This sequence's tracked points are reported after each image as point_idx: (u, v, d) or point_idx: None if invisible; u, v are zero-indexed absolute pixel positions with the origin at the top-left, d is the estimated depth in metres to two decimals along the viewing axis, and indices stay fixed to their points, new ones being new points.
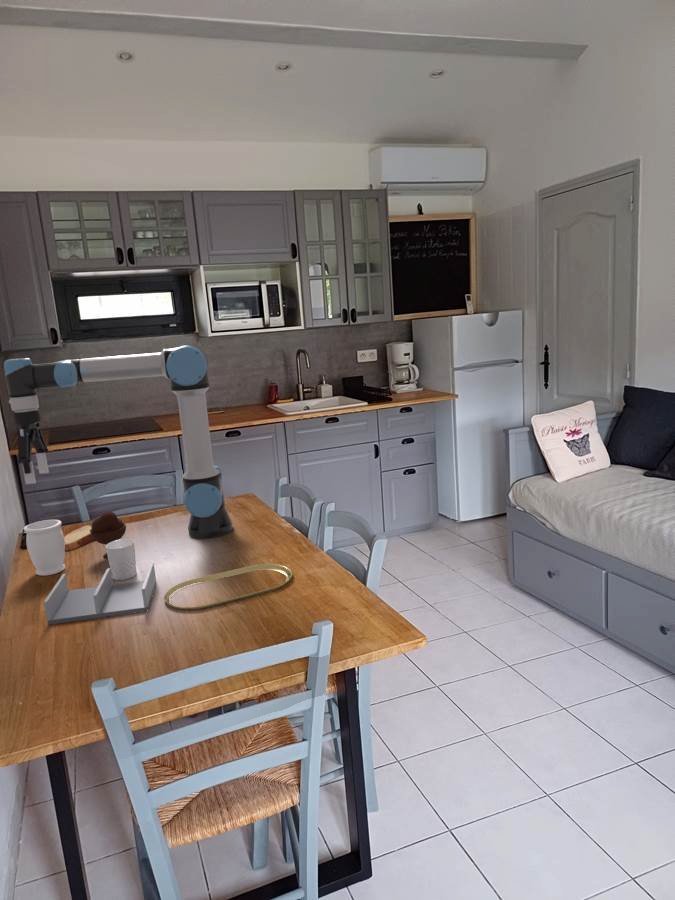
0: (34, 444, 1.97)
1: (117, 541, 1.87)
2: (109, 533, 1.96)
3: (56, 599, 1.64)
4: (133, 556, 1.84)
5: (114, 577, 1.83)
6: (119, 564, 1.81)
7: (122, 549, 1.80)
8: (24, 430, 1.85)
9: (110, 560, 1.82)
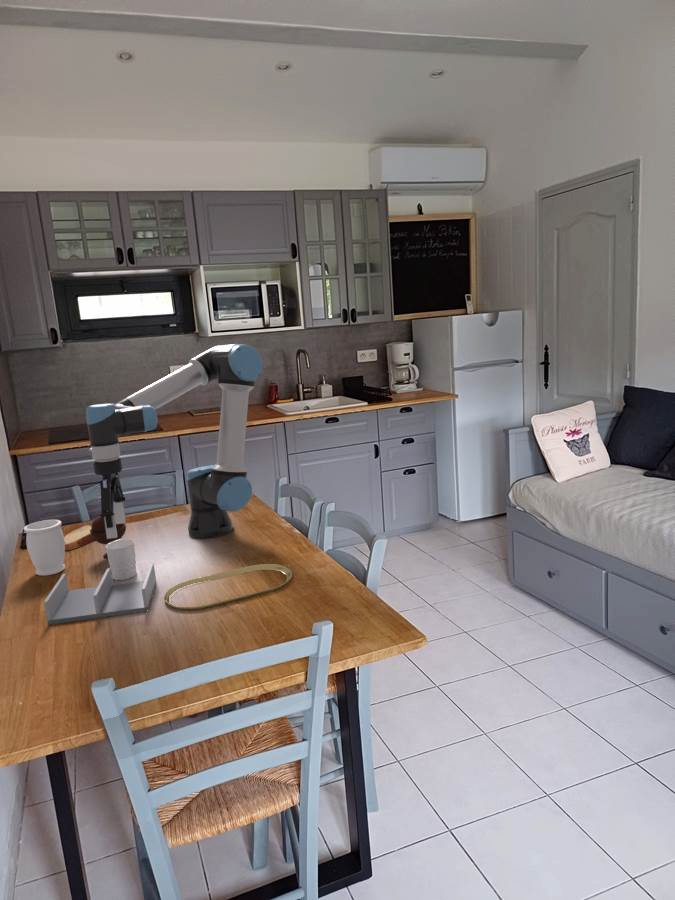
0: None
1: (117, 541, 1.87)
2: None
3: (56, 599, 1.64)
4: (133, 556, 1.84)
5: (114, 577, 1.83)
6: (119, 564, 1.81)
7: (122, 549, 1.80)
8: (107, 482, 1.73)
9: (110, 560, 1.82)
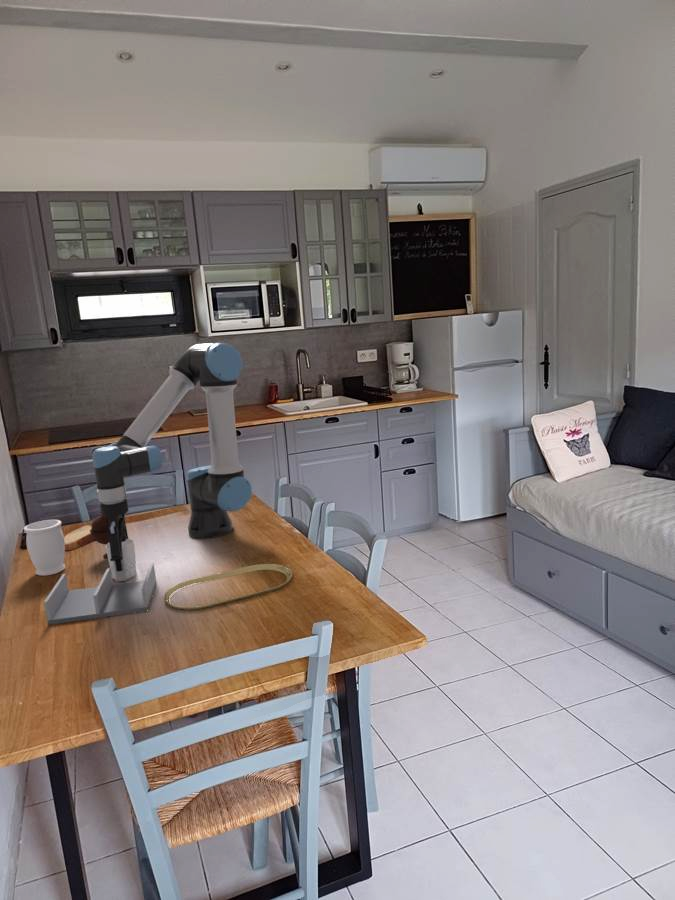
0: None
1: None
2: None
3: (56, 599, 1.64)
4: (133, 556, 1.84)
5: (114, 577, 1.83)
6: None
7: (122, 549, 1.80)
8: (115, 528, 1.76)
9: None
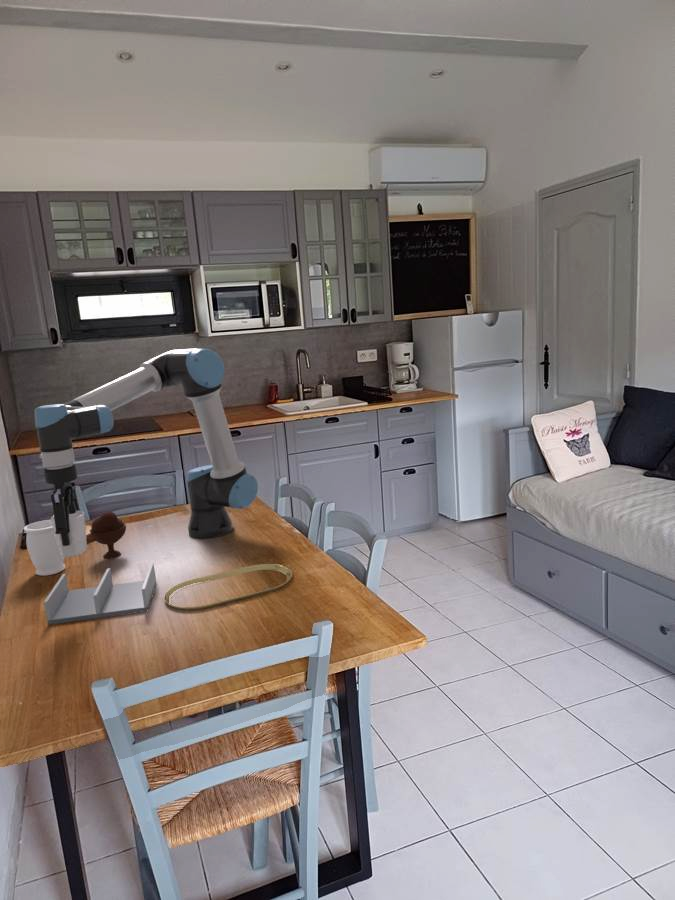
0: None
1: None
2: (109, 533, 1.96)
3: (56, 599, 1.64)
4: (83, 529, 1.62)
5: (61, 553, 1.62)
6: None
7: (70, 521, 1.59)
8: (59, 496, 1.54)
9: None
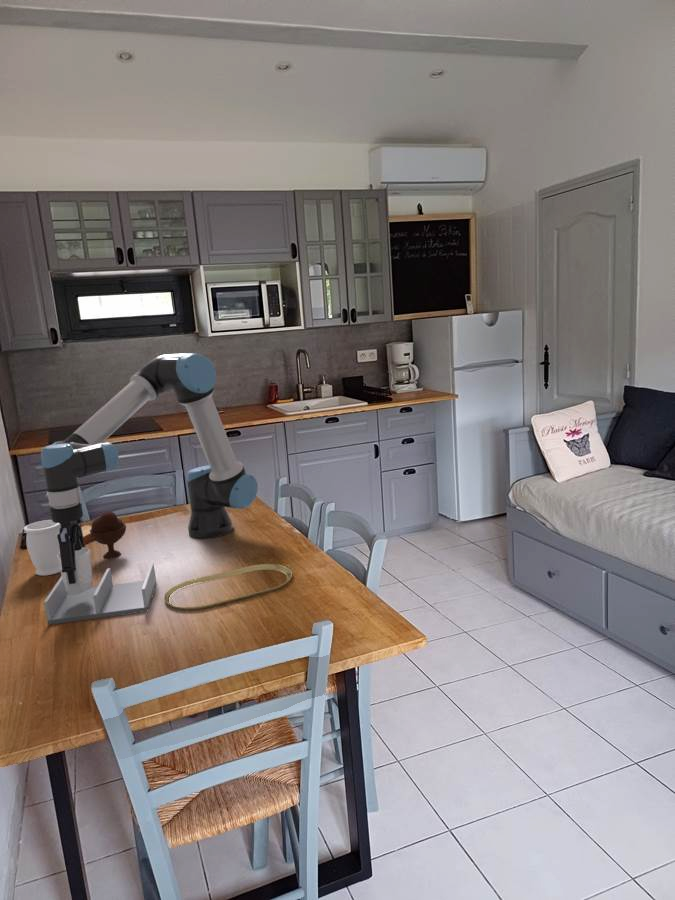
0: None
1: None
2: (109, 533, 1.96)
3: (56, 599, 1.64)
4: (88, 566, 1.64)
5: (67, 590, 1.63)
6: None
7: (76, 559, 1.61)
8: (66, 536, 1.56)
9: None
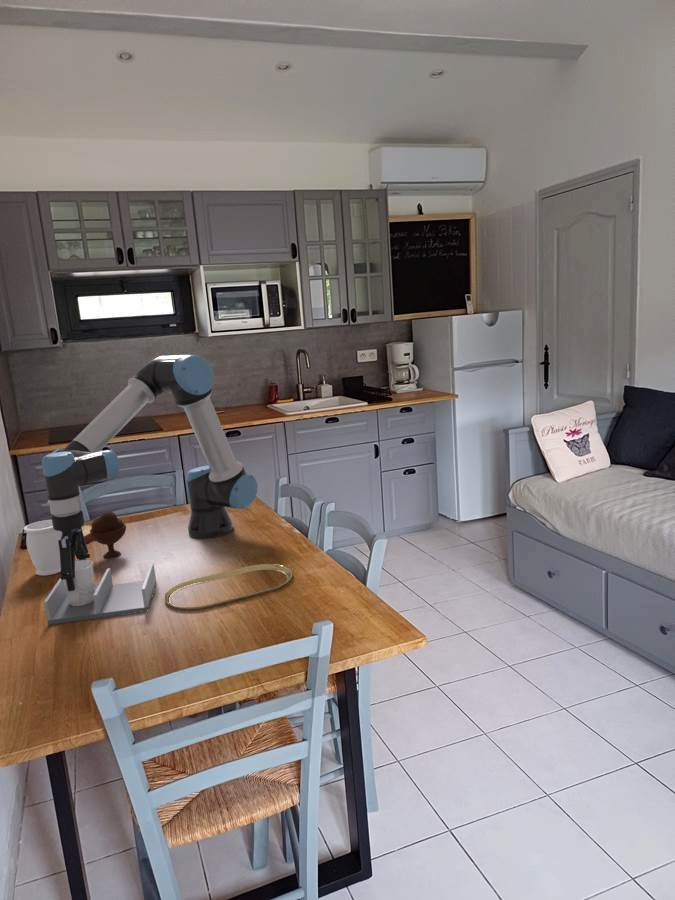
0: None
1: None
2: (109, 533, 1.96)
3: (56, 599, 1.64)
4: (91, 580, 1.65)
5: (70, 603, 1.65)
6: None
7: (79, 573, 1.62)
8: (66, 541, 1.57)
9: (65, 584, 1.63)
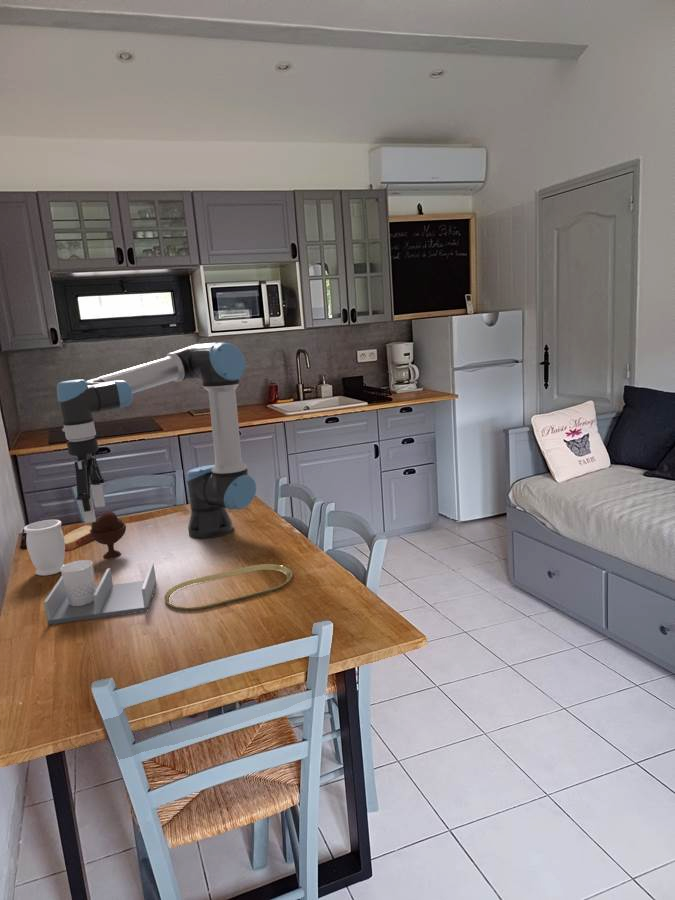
0: (89, 475, 1.74)
1: (75, 562, 1.68)
2: (109, 533, 1.96)
3: (56, 599, 1.64)
4: (91, 579, 1.65)
5: (70, 603, 1.65)
6: (75, 588, 1.63)
7: (79, 572, 1.62)
8: (82, 462, 1.62)
9: (65, 584, 1.63)
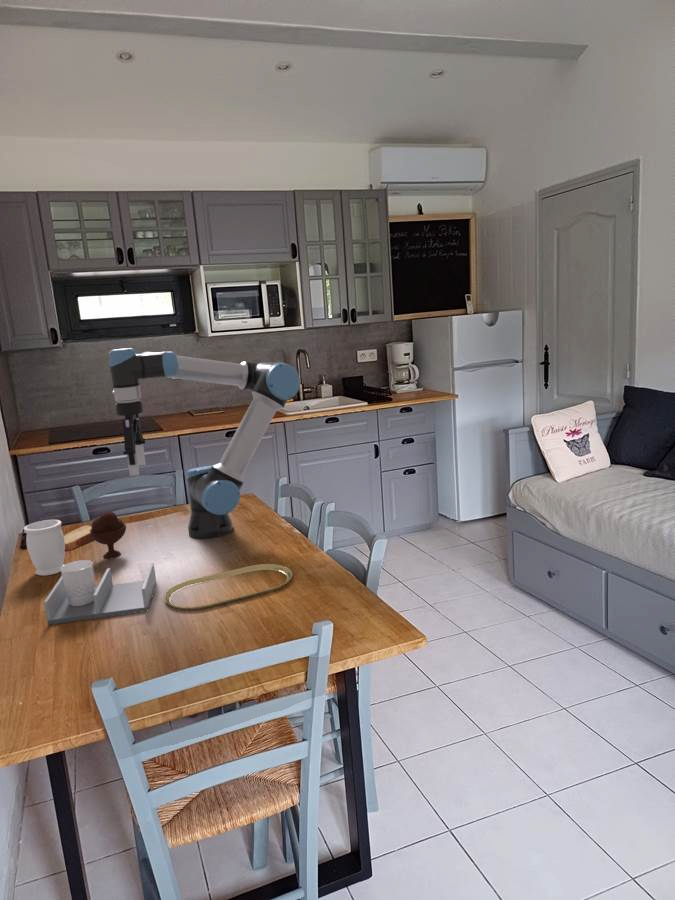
0: None
1: (74, 562, 1.68)
2: (109, 533, 1.96)
3: (56, 599, 1.64)
4: (91, 579, 1.65)
5: (70, 603, 1.65)
6: (75, 588, 1.63)
7: (79, 572, 1.62)
8: (130, 421, 1.83)
9: (65, 584, 1.63)
